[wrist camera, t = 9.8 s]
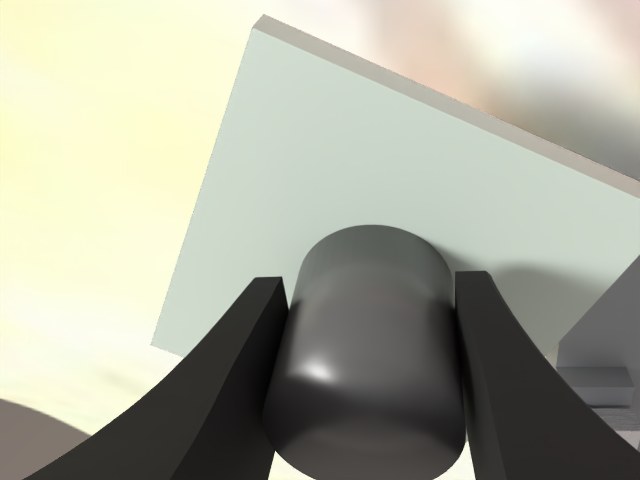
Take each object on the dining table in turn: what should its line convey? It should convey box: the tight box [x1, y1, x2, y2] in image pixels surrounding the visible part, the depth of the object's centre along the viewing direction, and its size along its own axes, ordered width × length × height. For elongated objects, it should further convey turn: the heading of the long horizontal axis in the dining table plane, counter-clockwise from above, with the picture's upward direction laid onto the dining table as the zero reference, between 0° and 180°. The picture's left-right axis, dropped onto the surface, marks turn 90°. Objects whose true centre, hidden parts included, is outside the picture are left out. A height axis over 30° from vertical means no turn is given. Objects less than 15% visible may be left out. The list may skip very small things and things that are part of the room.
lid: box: [151, 14, 640, 480], centre depth 13 cm, size 9×9×5 cm
